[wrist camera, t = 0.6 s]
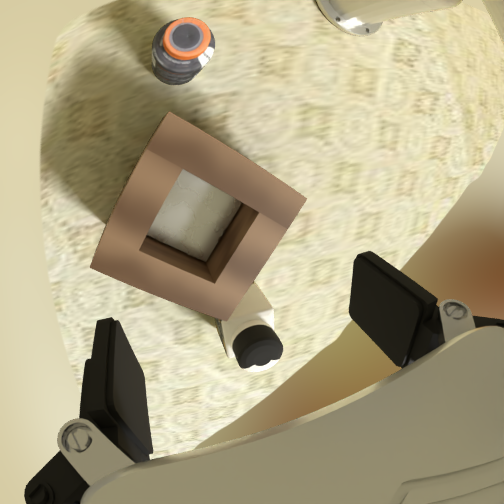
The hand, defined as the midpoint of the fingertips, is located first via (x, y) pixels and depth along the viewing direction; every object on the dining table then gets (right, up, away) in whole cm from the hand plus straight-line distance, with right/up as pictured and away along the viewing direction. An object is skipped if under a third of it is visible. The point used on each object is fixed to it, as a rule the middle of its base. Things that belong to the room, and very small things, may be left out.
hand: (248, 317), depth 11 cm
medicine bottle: (-2, -6, +35) cm, 35 cm away
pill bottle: (-9, +25, +18) cm, 32 cm away
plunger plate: (-6, +6, +19) cm, 21 cm away
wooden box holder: (-8, +9, +25) cm, 28 cm away
